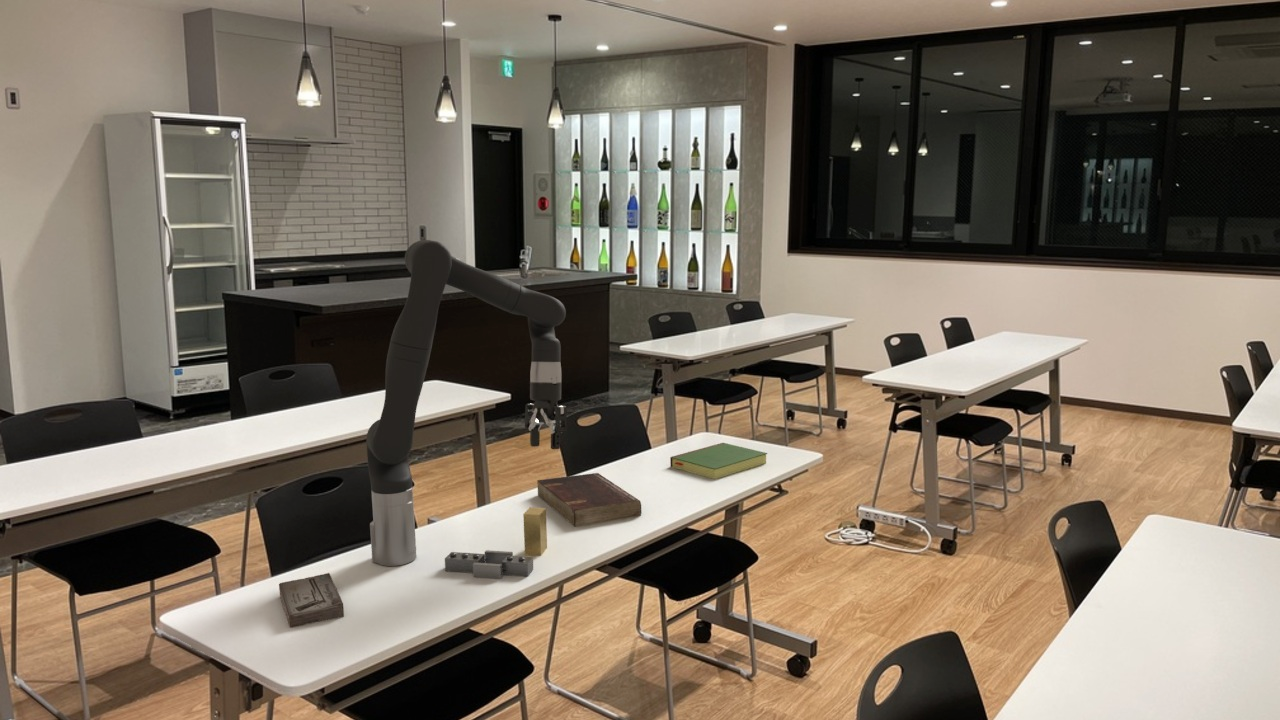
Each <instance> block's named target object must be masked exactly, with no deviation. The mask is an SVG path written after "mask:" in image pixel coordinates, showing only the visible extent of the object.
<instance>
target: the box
mask: <svg viewBox="0 0 1280 720" xmlns="http://www.w3.org/2000/svg"><path fill="white" fill-rule="evenodd" d="M278 587H279V596H280V601H281V604H282V606H283V610H284V613H285V616H286V620H287V624H288V627H289V628H297V627H302V626H306V625H307V624H308V625H309V624H314V623H319V622H320V623H321V622H325V621H331V620H333V619H338V618H339V619H340V618H344V616H345V611H344V610H345V609H344V602H343V600H342V598H341V596H340V594H339V590H338V588H337V587H336V585H335V582H334V581H333V578H332V576H331V574H330V572H327V573H324V574H318V575H314V576H310V577H309V576H308V577H304V578H300V579H293V580H289V581H284V582H279V584H278Z"/></svg>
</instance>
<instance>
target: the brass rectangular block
mask: <svg viewBox="0 0 1280 720" xmlns="http://www.w3.org/2000/svg"><path fill="white" fill-rule="evenodd" d="M547 532H548V530H547V508H546V507H532V506H531V507H529V508H528V509H526V511H524V513H523V539H524V541H523V542H524V544H523V545H524V556H542V555H543V554H544V553H545V551H546V550H547V549H548V534H547Z"/></svg>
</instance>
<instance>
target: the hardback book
mask: <svg viewBox="0 0 1280 720" xmlns="http://www.w3.org/2000/svg"><path fill="white" fill-rule="evenodd" d="M536 481H537V496H538V497H539V498H540V499H541V500H542V501H544V503H546V504H547V505H548V506H550V507H551V508H552V509H553V510H554V511H556V512H557V513H558V514H559V515H560V516H561V517H563V518H564V519H565V520H566V521H568V523H570V524H571V525H572V526H573V527H575V528H578V527H585V526H589V525H595V524H601V523H607V522H613V521H619V520H624V519H629V518H630V519H631V518H636V517H641V516H642V502H641V500H640V499H638V498H636V496H634V495H632V494H630V493H629V492H627V491H626V490H624V489H623V488H621V487H620V486H619V485H617V484H615V482H612V481H611V480H609V479H607V478H606V477H605V476H603V475H602V474H601V473H599V472H595V473H586V474H578V475H577V474H576V475H571V476H570V475H569V476H561V477H555V478H554V477H553V478H546V479H537V480H536Z"/></svg>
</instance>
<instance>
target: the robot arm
mask: <svg viewBox="0 0 1280 720" xmlns="http://www.w3.org/2000/svg"><path fill="white" fill-rule="evenodd" d="M404 264H405V266H406V269H407V270H408V272H409V273H410V274H411V275H410V282H409V289H408V293H407V298H406V301H405V304H404V307H403V309H402V311H401V313H400V315H399V317H398V319H397V321H396V323H395V325H394V328H393V331H392V334H391V338H390V341H389V347H388V351H387V355H386V363H385V379H384V381H385V383H384V384H385V387H384V388H385V392H384V394H385V395H384V402H383V407H382V411H381V415H380V418H379V419H377V420H376V421H374V422H373V423H372V424H371V426H370V427H369V428H368V430H367V433H366V442H365V443H366V453H367V455H366V456H367V465H368V466H367V467H368V475H369V476H368V477H369V481H370V489H371V491H370V492H371V504H372V505H371V507H372V518H373V520H372V521H371V522H370V523H369V530H370V532H369V533H370V548H371V561H372V563H376V564H377V565H381V566H386V567H387V566H388V567H394V566H402V565H406V564H409V563H411V562H414V560H416V559H417V545H416V542H417V541H416V530H415V529H416V525H415V524H416V523H415V509H414V507H415V506H414V505H415V504H414V492H413V477H412V471H411V467H410V464H409V463H410V462H409V454H410V452H411V450H412V447H413V440H414V430H415V423H416V414H417V409H418V408H417V407H418V403H419V401H420V400H419V399H420V396H421V393H422V389H423V386H424V381H425V377H426V374H427V369H428V367H429V361H430V357H431V352H432V349H433V348H432V347H433V343H434V336H435V333H436V332H435V331H436V328H437V327H436V325H437V321H438V313H439V307H440V304H441V300H442V297H443V294H444V290H445V288H446V285H447V286H450V287H453V288H455V289H458V290H460V291H462V292H465V293H467V294H469V295H471V296H473V297H475V298H477V299H478V300H481V301H483V302H484V303H487V304H488V305H492V306H493V307H496V308H498V309H500V310H502V311H505V312H507V313H509V314H512V315H515V316H516V315H517V316H524V317H526V318H527V326H528V331H529V336H530V341H531V364H530V375H529V376H530V378H529V379H530V381H529V384H530V385H529V398H530V401H533V403H526V404H525V411H524V428H527V429H528V431H529V432H530V434H529V435H530V437H529V439H530V440H529V441H530V442H529V443H530V445H529V446H530V447H532V448H533V447H539V446H540V434H541V433H540V429H541V427H542V425H544V424H546V426H548V427H549V430H550V432H551V433H550V449H551V450H560V448H561V434H562V433H563V432H566V431H567V429H568V425H567V423H568V422H567V420H568V419H567V406H566V405H558V401H561V400H562V366H561V360H562V359H561V357H562V356H561V355H562V354H561V353H562V352H561V351H562V349H561V347H562V346H561V342H560V340H559V339H558V338H556V332H555V327H557V326H560V325H561V324H562V323H563V322H564V320H565V318H566V316H567V314H566V313H567V310H566V308H565V305H564V303H563V302H561V301H560V300H559V299H557V298H555V297H554V296H551V295H549V294H546V293H542V292H539V291H536V290H532V289H529V288H527V287H525V286H523V285H521V284H519V283H516V282H515V281H512V280H509V279H507V278H505V277H502V276H500V275H497V274H494V273H492V272H489V271H487V270H483V269H480V268H478V267H475V266H472V265H470V264H468V263H465V262H464V261H462V260H460V259H458V258H456V257H455V256H453V255H452V254H451V252H450V250H449V248H447V246H446V245H445V244H444V243H441V242H439V241H437V240H436V241H435V240H431V239H421V240H418V241H415V242H413V243H412V244H411V245H410V246H409V247H408V248H407V249H406V251H405V254H404Z"/></svg>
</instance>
